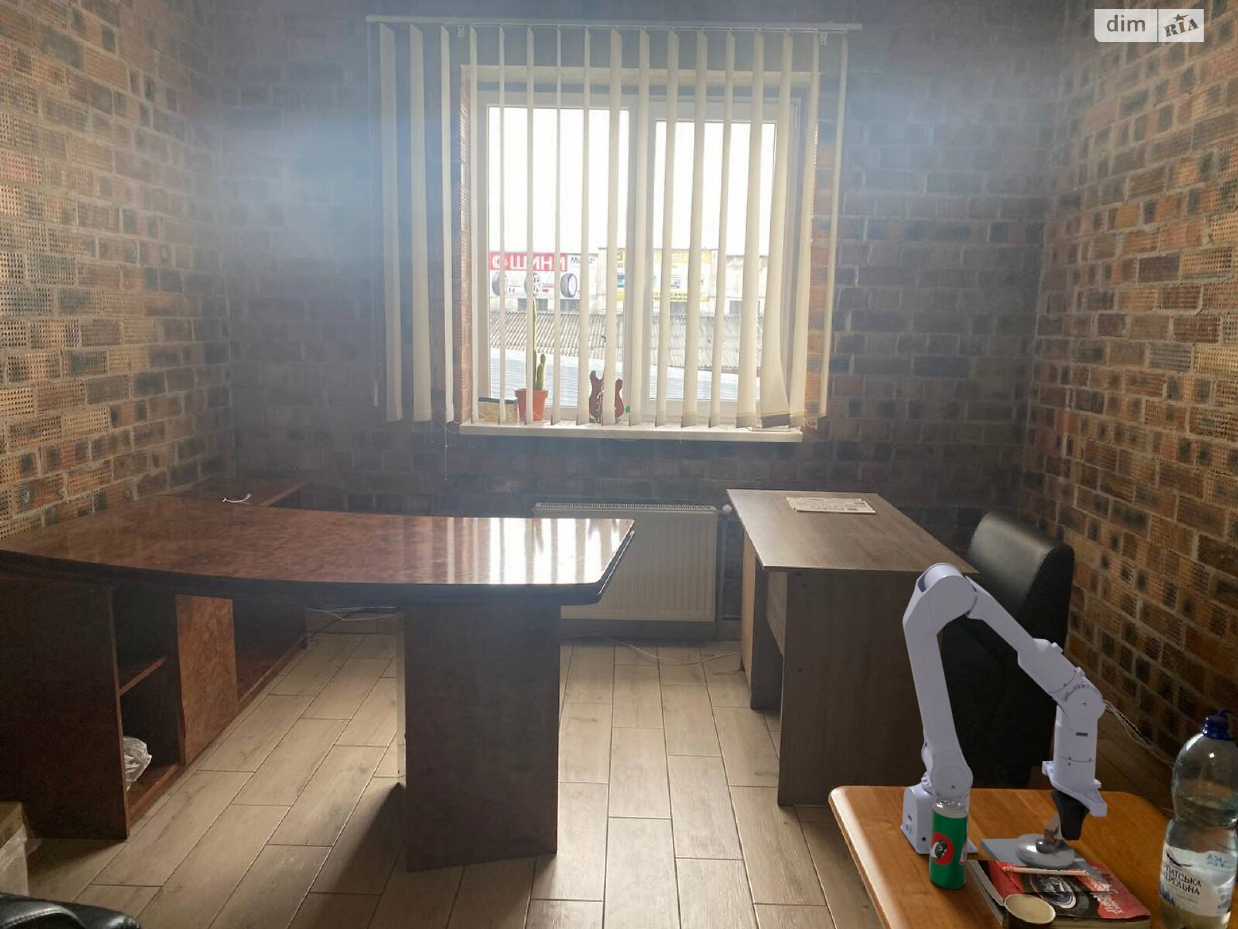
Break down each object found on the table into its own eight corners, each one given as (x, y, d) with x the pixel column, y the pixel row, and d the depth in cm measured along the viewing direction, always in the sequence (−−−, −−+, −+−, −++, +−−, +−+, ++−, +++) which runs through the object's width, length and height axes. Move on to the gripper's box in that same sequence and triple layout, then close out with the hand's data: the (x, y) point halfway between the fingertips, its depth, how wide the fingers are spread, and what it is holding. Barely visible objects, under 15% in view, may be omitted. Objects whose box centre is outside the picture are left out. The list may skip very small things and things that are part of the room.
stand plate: (1021, 893, 128) (1022, 886, 128) (980, 845, 141) (980, 838, 141) (1109, 891, 128) (1110, 884, 128) (1060, 843, 141) (1061, 837, 141)
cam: (1066, 878, 130) (1067, 855, 129) (1008, 858, 135) (1010, 836, 134) (1089, 839, 140) (1091, 818, 140) (1035, 822, 146) (1036, 801, 145)
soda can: (968, 893, 128) (972, 813, 126) (931, 889, 129) (934, 809, 127) (961, 873, 133) (965, 797, 131) (926, 869, 134) (929, 793, 132)
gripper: (1129, 774, 130) (1123, 863, 131) (1073, 734, 144) (1069, 814, 145) (1081, 775, 129) (1077, 864, 131) (1031, 735, 144) (1027, 815, 145)
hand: (1070, 838), depth 138 cm, fingers closed, pressing on cam
